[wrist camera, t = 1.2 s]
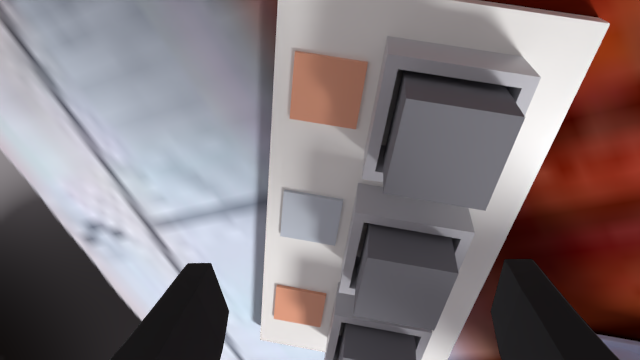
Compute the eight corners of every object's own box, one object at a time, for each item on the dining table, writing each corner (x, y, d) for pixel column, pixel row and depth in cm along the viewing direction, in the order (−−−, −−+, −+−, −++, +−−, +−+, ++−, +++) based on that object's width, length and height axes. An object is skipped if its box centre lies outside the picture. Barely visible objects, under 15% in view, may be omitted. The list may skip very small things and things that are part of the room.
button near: (504, 84, 16) (525, 117, 14) (472, 170, 19) (485, 210, 16) (403, 69, 17) (406, 98, 14) (383, 155, 19) (382, 193, 16)
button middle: (450, 229, 21) (458, 273, 18) (429, 284, 23) (434, 330, 20) (369, 215, 21) (367, 257, 18) (356, 271, 23) (353, 315, 21)
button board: (599, 17, 17) (642, 41, 14) (438, 360, 30) (444, 409, 28) (284, -29, 18) (264, -15, 15) (263, 328, 31) (250, 371, 28)
